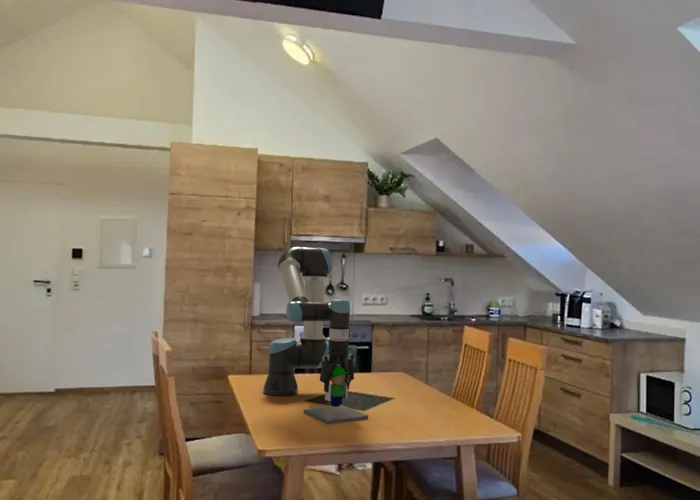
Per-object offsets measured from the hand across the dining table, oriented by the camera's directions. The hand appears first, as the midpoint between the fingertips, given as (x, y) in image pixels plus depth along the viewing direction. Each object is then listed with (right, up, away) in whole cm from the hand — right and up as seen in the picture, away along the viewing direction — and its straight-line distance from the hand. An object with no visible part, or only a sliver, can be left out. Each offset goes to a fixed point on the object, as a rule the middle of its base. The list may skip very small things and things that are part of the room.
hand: (336, 399), depth 233 cm
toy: (0, -2, 0) cm, 2 cm away
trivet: (0, -6, 0) cm, 6 cm away
